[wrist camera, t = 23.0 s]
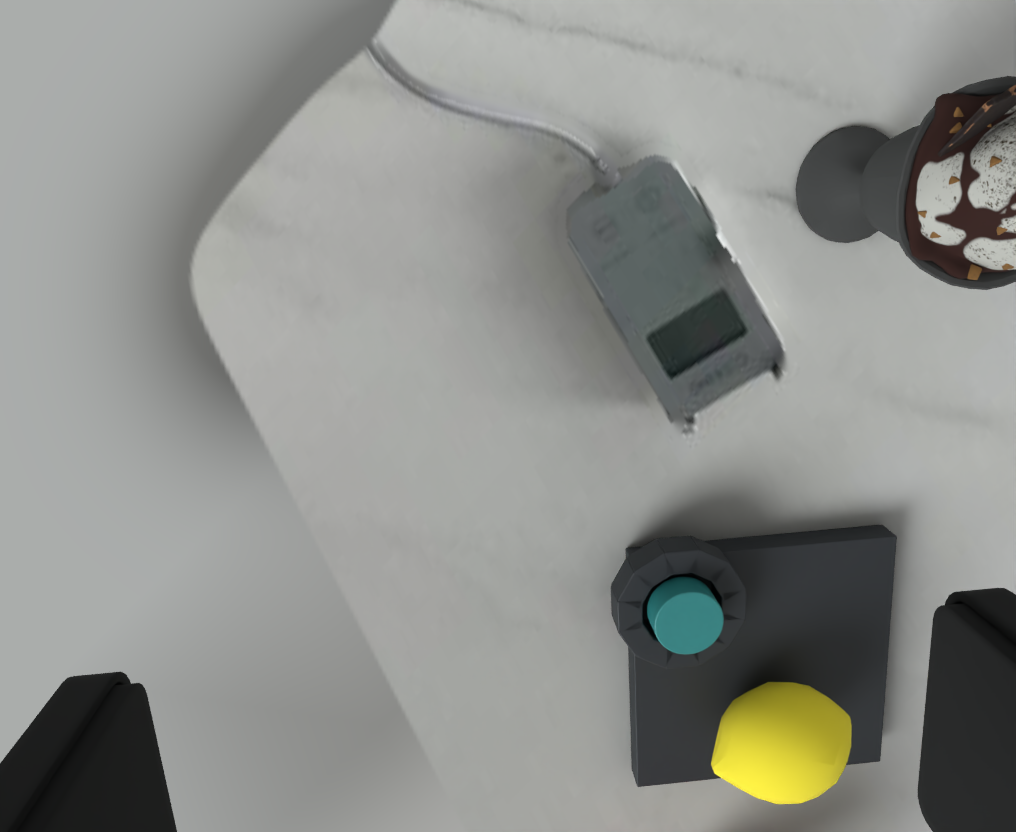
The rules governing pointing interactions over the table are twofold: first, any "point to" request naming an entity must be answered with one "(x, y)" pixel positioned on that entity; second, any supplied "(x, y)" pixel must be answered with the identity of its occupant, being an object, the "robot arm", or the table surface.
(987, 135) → the sundae
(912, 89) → the table surface
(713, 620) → the button
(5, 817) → the robot arm
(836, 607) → the scale
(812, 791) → the lemon
